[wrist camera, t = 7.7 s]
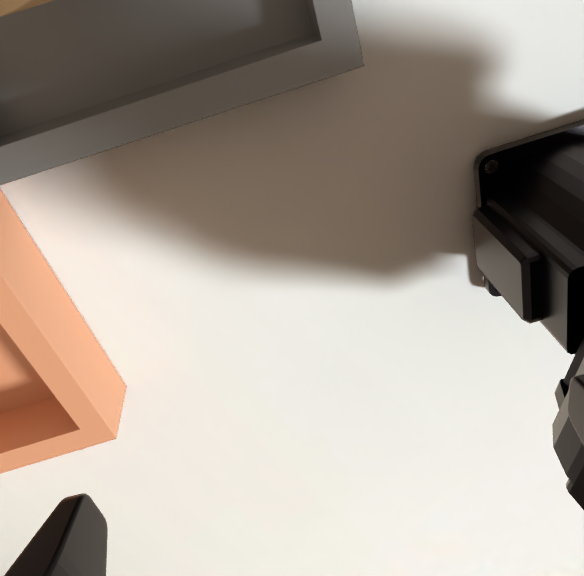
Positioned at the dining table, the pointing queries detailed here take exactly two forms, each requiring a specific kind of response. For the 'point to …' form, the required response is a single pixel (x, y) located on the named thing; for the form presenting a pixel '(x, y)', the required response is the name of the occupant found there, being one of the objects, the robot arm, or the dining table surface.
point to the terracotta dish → (47, 360)
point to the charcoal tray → (152, 68)
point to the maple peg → (18, 5)
